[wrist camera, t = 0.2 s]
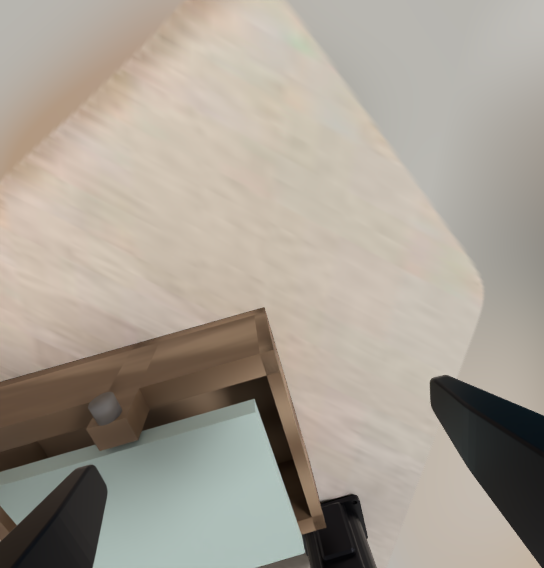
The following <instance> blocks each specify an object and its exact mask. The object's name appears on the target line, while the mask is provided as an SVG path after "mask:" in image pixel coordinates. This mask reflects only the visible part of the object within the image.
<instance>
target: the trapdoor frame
mask: <svg viewBox="0 0 544 568" xmlns="http://www.w3.org/2000/svg"><path fill="white" fill-rule="evenodd" d="M252 399H255V402H256V405H257V408H258V411H259V414H260V417H261V420H262V422H263V425H264V428H265V431H266V434H267V437H268V440H269V443H270V446H271V448H272V451H273V454H274V457H275V460H276V463H277V466H278V469H279V471H280V474H281V477H282V480H283V483H284V486H285V489H286V492H287V494H288V497H289V500H290V503H291V506H292V509H293V512H294V515H295V517H296V520H297V523H298V526H299V529H300V532H301V535H303V534H306V533H309V532H313V531H316V530H319V529H323V528H326V523H325V520H324V516H323V512H322V508H321V504H320V500H319V496H318V492H317V488H316V485H315V481H314V477H313V473H312V469H311V465H310V461H309V458H308V454H307V451H306V447H305V444H304V441H303V437H302V434H301V430H300V427H299V424H298V420H297V417H296V413H295V410H294V407H293V403H292V400H291V396H290V393H289V390H288V386H287V383H286V379H285V376H284V373H283V369H282V366H281V362H280V359H279V355H278V352H277V349H276V345H275V342H274V338H273V335H272V332H271V328H270V325H269V321H268V318H267V315H266V311H265V308H260V309H257V310H253V311H250V312H246V313H243V314H239V315H236V316H232V317H229V318H225V319H221V320H218V321H214V322H211V323H207V324H204V325H200V326H197V327H193V328H190V329H186V330H183V331H179V332H176V333H172V334H168V335H165V336H161V337H158V338H154V339H151V340H147V341H144V342H140V343H137V344H133V345H130V346H126V347H123V348H119V349H116V350H112V351H108V352H105V353H101V354H98V355H94V356H91V357H87V358H84V359H80V360H77V361H73V362H70V363H66V364H63V365H59V366H56V367H52V368H48V369H45V370H41V371H38V372H34V373H31V374H27V375H24V376H20V377H17V378H13V379H10V380H6V381H3V382H0V472H2V471H5V470H9V469H12V468H16V467H19V466H23V465H26V464H30V463H33V462H37V461H40V460H44V459H47V458H51V457H54V456H57V455H61V454H64V453H68V452H71V451H75V450H78V449H82V448H85V447H89V446H92V445H96V446H97V448H98V449H99V451H102V450H106V449H109V448H113V447H116V446H120V445H123V444H127V443H130V442H134V441H137V440H139V437H140V434H141V431H144V430H148V429H151V428H155V427H158V426H162V425H165V424H169V423H172V422H176V421H179V420H182V419H186V418H189V417H193V416H196V415H200V414H203V413H207V412H210V411H214V410H217V409H221V408H224V407H228V406H231V405H235V404H238V403H241V402H245V401H248V400H252ZM16 526H17V525H16V524H15V522H14V521H13V520H12V519H11V518H10V517H9V515H8V514H7V513H6V512H5V511H4V510H3V508H2V507H1V506H0V540H3V539H4V538H5V537H6V536H7V535H8V534H9V533H10V532H11V531H12V530H13V529H14V528H15V527H16Z"/></svg>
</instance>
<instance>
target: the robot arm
mask: <svg viewBox="0 0 544 568" xmlns="http://www.w3.org/2000/svg"><path fill="white" fill-rule="evenodd" d="M430 400H431V406H432V409H433V411H434V413H435V415H436V416H437V418H438V420H439V421H440V423H441V424H442V426H443V428H444V429H445V431H446V433H447V434H448V436H449V438H450V439H451V441H452V443H453V444H454V446H455V448H456V449H457V451H458V453H459V454H460V456H461V457H462V459H463V460H464V462H465V464H466V465H467V467H468V468H469V470H470V471H471V473H472V474H473V475H474V477H475V478H476V480H477V481H478V482H479V484H480V485H481V486H482V488H483V489H484V490H485V491H486V493H487V494H488V496H489V497H490V498H491V500H492V501H493V502H494V504H495V505H496V506H497V508H498V509H499V511H500V512H501V513H502V515H503V516H504V517H505V519H506V520H507V521H508V522H509V524H510V525H511V527H512V528H513V529H514V531H515V532H516V533H517V535H518V536H519V537H520V539H521V540H522V541H523V543H524V544H525V546H526V547H527V548H528V549H529V551H530V552H531V554H532V555H533V556H534V558H535V559H536V560H537V562H538V563H539V564H540V566H541V567H542V568H544V416H543V415H541V414H538V413H536V412H534V411H532V410H529V409H527V408H524V407H522V406H519V405H517V404H515V403H512V402H510V401H508V400H505V399H503V398H501V397H498V396H496V395H493V394H491V393H488V392H486V391H484V390H482V389H479V388H477V387H474V386H472V385H470V384H467V383H465V382H462V381H460V380H458V379H455V378H453V377H451V376H448V375H442V376H438V377H434V378H432V379H431V380H430ZM107 494H108V490H107V485H106V483H105V482H104V480H103V478H102V476H101V474H100V473H99V471H98V469H97V467H96V466H94V465H91V464H90V465H86V466H82V467H78V468H76V469H75V470H73V471H72V472H71V473H70V474H69V475H68V476H67V477H66V478H65V479H64V480H63V481H62V482H61V483H60V484H59V485H58V486H57V487H56V488H55V489H54V490H53V491H52V492H51V493H50V494H49V495H48V496H47V497H46V498H45V499H44V500H43V501H42V502H41V503H40V504H38V505H37V506H36V507H35V508H34V509H33V510H32V511H31V512H30V513H29V514H28V515H27V516H26V517H25V518H24V519H23V520H22V521H21V522H20V523H19V524H18V525H17V526H16V527H15V528H14V529H13V530H12V531H11V532H10V533H9V534H8V535H7V536H6V537H5V538H4V539H3V540H1V541H0V568H93V565H94V560H95V556H96V551H97V546H98V541H99V536H100V531H101V526H102V521H103V516H104V510H105V505H106V500H107ZM321 508H322V512H323V516H324V520H325V523H326V528H323V529H319V530H316V531H313V532H309V533H306V534H303V535H302V539H303V544H304V549H305V552H306V554H307V556H308V557H309V562H310V568H377V567H376V564H375V561H374V558H373V556H372V553H371V550H370V547H369V545H368V542H367V538H368V536H367V531H366V527H365V523H364V518H363V514H362V509H361V505H360V501H359V498H358V496H357V495H351V496H348V497H345V498H341V499H338V500H334V501H331V502H328V503H324V504H321Z"/></svg>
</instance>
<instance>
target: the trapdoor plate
mask: <svg viewBox="0 0 544 568" xmlns="http://www.w3.org/2000/svg"><path fill="white" fill-rule="evenodd" d="M90 464H91V465H94V466H96V467H97V469H98V471H99V473H100V474H101V476H102V478H103V480H104V482H105V483H106V485H107V490H108V494H107V500H106V505H105V510H104V516H103V521H102V526H101V531H100V536H99V541H98V546H97V551H96V556H95V560H94V565H93V568H257V567H260V566H264V565H267V564H270V563H274V562H277V561H280V560H284V559H287V558H290V557H294V556H297V555H301V554H304V553H305V550H304V544H303V539H302V535H301V532H300V529H299V526H298V523H297V520H296V517H295V515H294V512H293V509H292V506H291V503H290V500H289V497H288V494H287V492H286V489H285V486H284V483H283V480H282V477H281V474H280V471H279V469H278V466H277V463H276V460H275V457H274V454H273V451H272V448H271V446H270V443H269V440H268V437H267V434H266V431H265V428H264V425H263V422H262V420H261V417H260V414H259V411H258V408H257V405H256V402H255V399H252V400H248V401H245V402H241V403H238V404H235V405H231V406H228V407H224V408H221V409H217V410H214V411H210V412H207V413H203V414H200V415H196V416H193V417H189V418H186V419H182V420H179V421H176V422H172V423H169V424H165V425H162V426H158V427H155V428H151V429H148V430H144V431H141V434H140V437H139V440H137V441H134V442H130V443H127V444H123V445H120V446H116V447H113V448H109V449H106V450H102V451H99V449H98V448H97V446H96V445H92V446H89V447H85V448H82V449H78V450H75V451H71V452H68V453H64V454H61V455H57V456H54V457H51V458H47V459H44V460H40V461H37V462H33V463H30V464H26V465H23V466H19V467H16V468H12V469H9V470H5V471H2V472H0V506H1V507H2V508H3V510H4V511H5V512H6V513H7V514H8V515H9V517H10V518H11V519H12V520H13V521H14V522H15V524H16V525H18V524H19V523H20V522H21V521H22V520H23V519H24V518H25V517H26V516H27V515H28V514H29V513H30V512H31V511H32V510H33V509H34V508H35V507H36V506H37V505H38V504H40V503H41V502H42V501H43V500H44V499H45V498H46V497H47V496H48V495H49V494H50V493H51V492H52V491H53V490H54V489H55V488H56V487H57V486H58V485H59V484H60V483H61V482H62V481H63V480H64V479H65V478H66V477H67V476H68V475H69V474H70V473H71V472H72V471H73V470H75V469H76V468H78V467H82V466H86V465H90Z"/></svg>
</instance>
